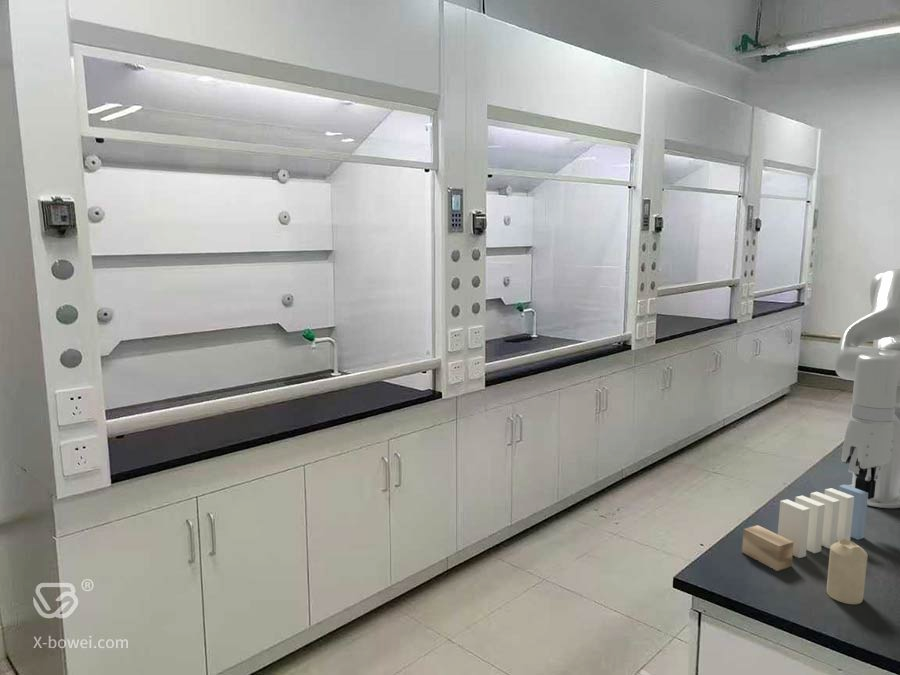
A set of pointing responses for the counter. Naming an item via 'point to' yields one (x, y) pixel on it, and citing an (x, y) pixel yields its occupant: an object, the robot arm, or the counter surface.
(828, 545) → the domino
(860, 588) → the candle
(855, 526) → the domino
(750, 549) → the end block
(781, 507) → the domino
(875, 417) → the robot arm
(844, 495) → the domino
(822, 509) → the domino
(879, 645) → the counter surface
